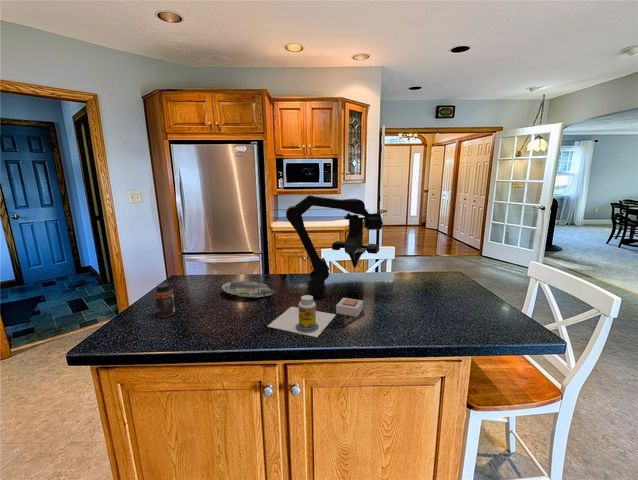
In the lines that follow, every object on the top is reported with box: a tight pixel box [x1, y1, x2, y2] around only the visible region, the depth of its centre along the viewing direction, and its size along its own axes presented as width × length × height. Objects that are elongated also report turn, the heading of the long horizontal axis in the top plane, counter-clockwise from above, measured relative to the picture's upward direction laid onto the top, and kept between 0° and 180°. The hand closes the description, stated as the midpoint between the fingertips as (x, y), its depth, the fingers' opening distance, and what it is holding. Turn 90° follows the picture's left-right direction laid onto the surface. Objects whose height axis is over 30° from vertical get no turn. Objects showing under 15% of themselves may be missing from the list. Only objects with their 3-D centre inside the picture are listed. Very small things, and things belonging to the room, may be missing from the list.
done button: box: [343, 298, 357, 307], centre depth 111 cm, size 4×4×2 cm
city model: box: [221, 280, 276, 298], centre depth 130 cm, size 25×23×6 cm
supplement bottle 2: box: [298, 294, 317, 330], centre depth 98 cm, size 6×6×10 cm
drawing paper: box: [267, 306, 337, 338], centre depth 104 cm, size 18×17×1 cm
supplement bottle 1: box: [154, 283, 176, 319], centre depth 108 cm, size 6×6×11 cm
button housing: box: [335, 297, 364, 318], centre depth 111 cm, size 8×8×3 cm
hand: (354, 267), depth 125 cm, fingers closed
